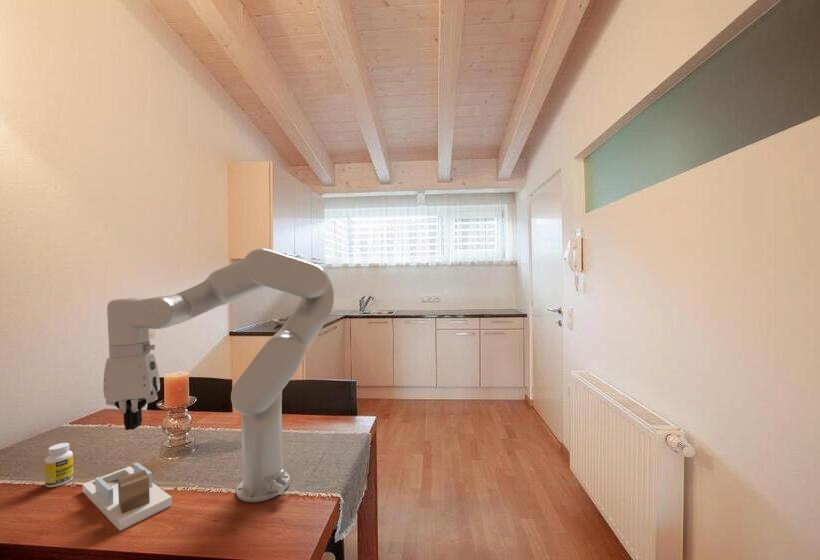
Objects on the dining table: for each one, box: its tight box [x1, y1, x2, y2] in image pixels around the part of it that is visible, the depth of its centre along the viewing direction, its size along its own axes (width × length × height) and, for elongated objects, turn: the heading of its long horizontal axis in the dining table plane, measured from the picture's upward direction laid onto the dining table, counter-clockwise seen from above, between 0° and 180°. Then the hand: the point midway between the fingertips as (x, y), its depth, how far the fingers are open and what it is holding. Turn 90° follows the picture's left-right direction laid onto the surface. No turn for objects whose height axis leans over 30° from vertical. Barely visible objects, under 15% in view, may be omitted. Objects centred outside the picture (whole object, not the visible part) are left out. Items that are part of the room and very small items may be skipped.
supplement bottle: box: [44, 442, 74, 488], centre depth 95 cm, size 5×5×10 cm
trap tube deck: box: [82, 462, 173, 531], centre depth 87 cm, size 26×10×6 cm, turn 56°
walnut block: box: [118, 469, 150, 513], centre depth 82 cm, size 5×5×6 cm
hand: (133, 427), depth 84 cm, fingers closed
